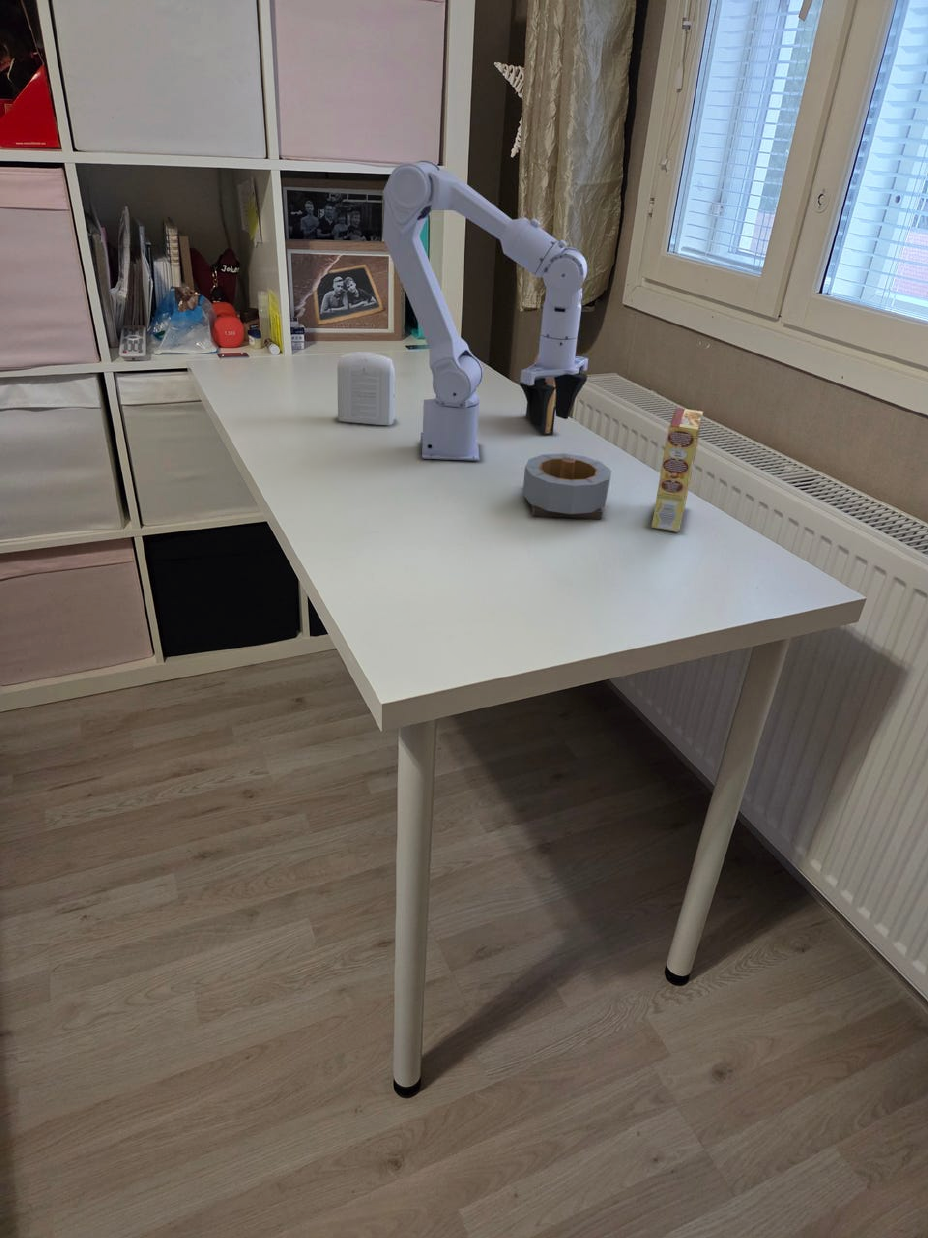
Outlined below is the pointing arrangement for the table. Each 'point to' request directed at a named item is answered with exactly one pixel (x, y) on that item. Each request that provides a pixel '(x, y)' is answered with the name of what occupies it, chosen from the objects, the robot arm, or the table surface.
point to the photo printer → (366, 388)
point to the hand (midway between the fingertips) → (549, 421)
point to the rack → (565, 473)
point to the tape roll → (566, 484)
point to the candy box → (677, 469)
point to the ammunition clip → (550, 414)
